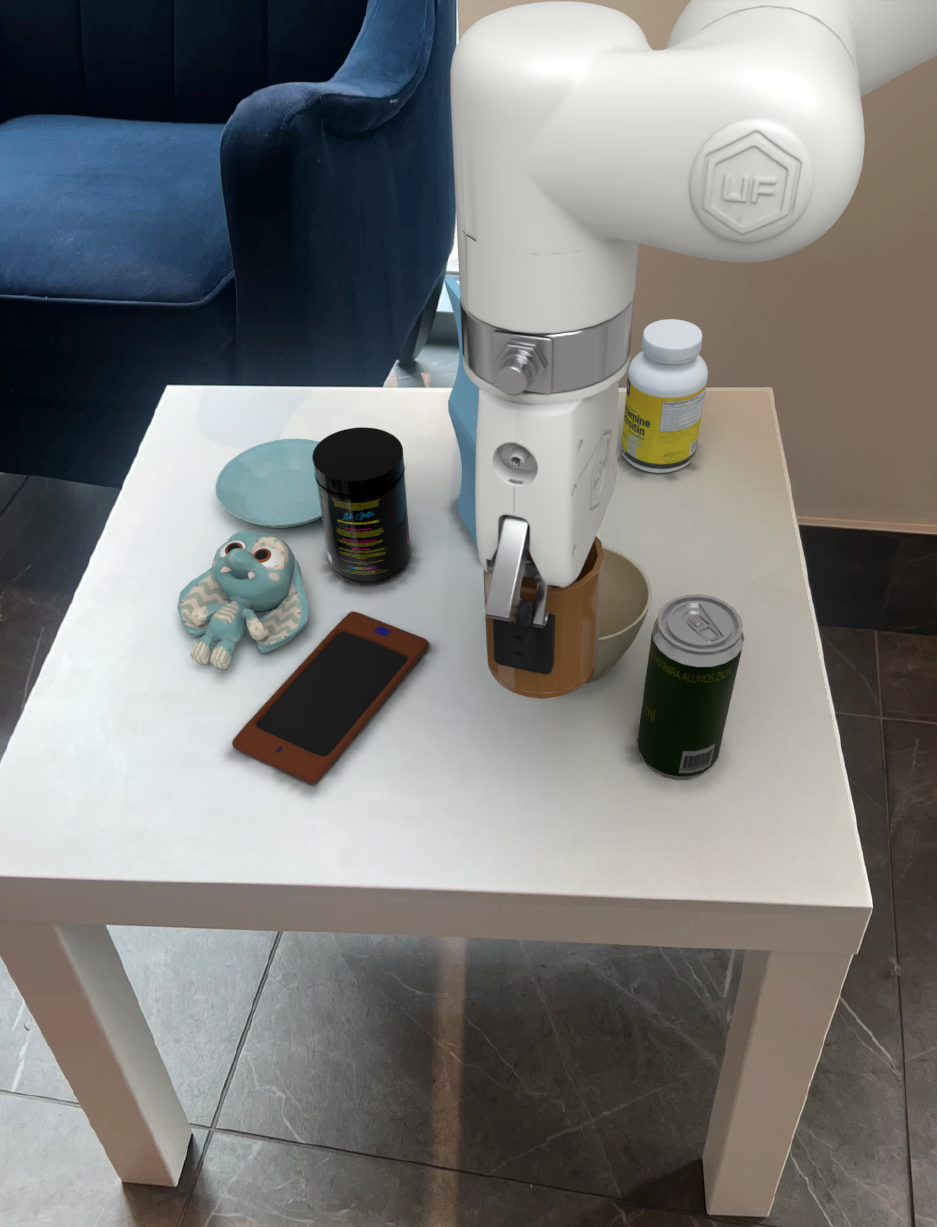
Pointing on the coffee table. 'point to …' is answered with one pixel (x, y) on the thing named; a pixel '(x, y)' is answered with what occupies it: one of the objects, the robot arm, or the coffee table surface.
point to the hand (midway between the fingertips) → (542, 620)
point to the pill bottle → (664, 397)
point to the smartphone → (330, 697)
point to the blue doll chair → (464, 419)
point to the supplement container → (363, 504)
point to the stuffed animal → (244, 598)
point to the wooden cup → (559, 633)
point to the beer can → (689, 685)
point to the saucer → (272, 484)
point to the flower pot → (620, 608)
